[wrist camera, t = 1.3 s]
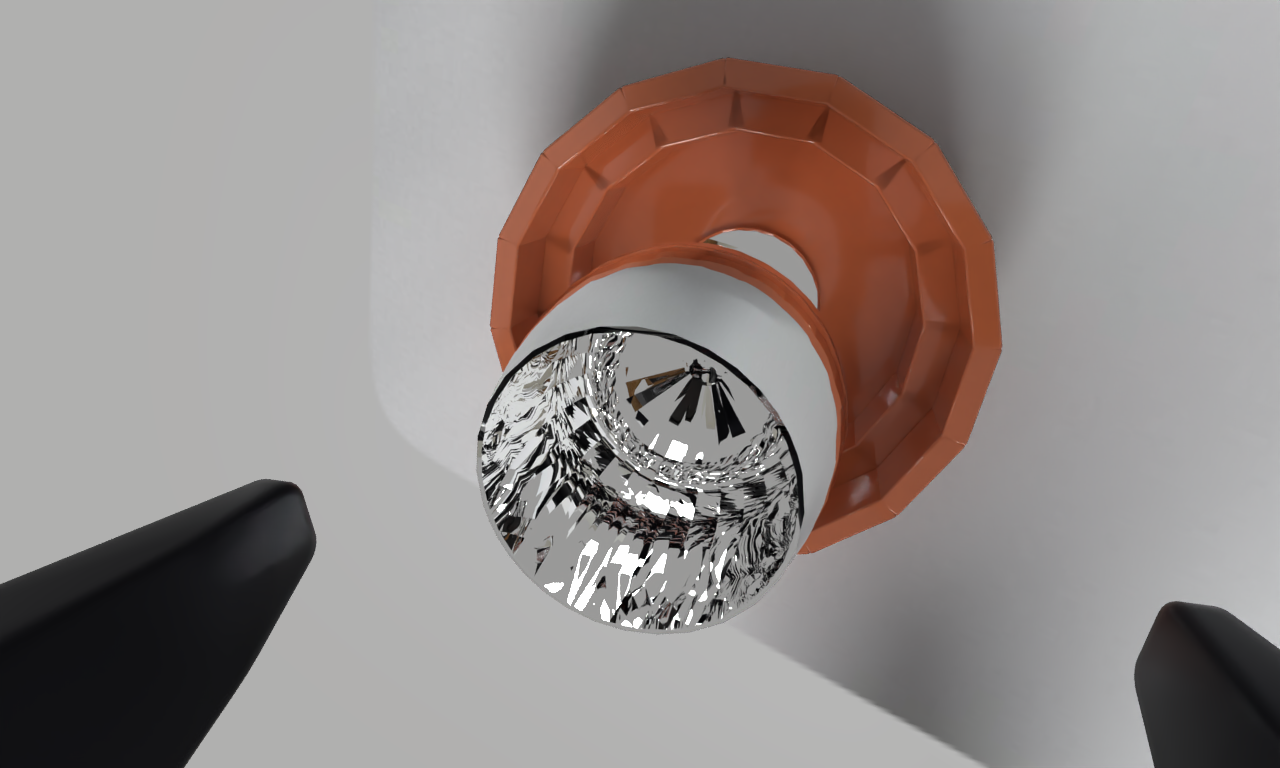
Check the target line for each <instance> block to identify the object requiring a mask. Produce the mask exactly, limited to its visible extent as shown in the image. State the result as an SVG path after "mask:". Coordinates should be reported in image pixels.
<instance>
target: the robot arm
mask: <svg viewBox="0 0 1280 768" xmlns="http://www.w3.org/2000/svg"><path fill="white" fill-rule="evenodd" d="M315 548H316V534H315V531H314V528H313V524H312V522H311V518H310V515H309V512H308V509H307V506H306V502H305V499H304V496H303V493H302V491H301V490H300V488H299V487H298V486H297V485H296V484H294V483H292V482H286V481H278V480H271V479H261V480H257V481H254V482H252V483H250V484H247V485H245V486H243V487H240V488H237V489H235V490H232V491H230V492H227V493H225V494H222V495H220V496H217V497H215V498H212V499H210V500H207V501H205V502H203V503H200V504H198V505H195V506H193V507H190V508H188V509H185V510H183V511H180V512H178V513H175V514H173V515H170V516H168V517H165V518H163V519H161V520H158V521H156V522H153V523H151V524H148V525H146V526H143V527H141V528H138V529H136V530H133V531H131V532H128V533H126V534H124V535H121V536H119V537H116V538H114V539H111V540H109V541H106V542H104V543H102V544H99V545H96V546H94V547H92V548H89V549H86V550H84V551H81V552H79V553H77V554H74V555H72V556H69V557H67V558H64V559H62V560H59V561H57V562H54V563H52V564H49V565H47V566H44V567H42V568H40V569H37V570H35V571H32V572H30V573H27V574H25V575H22V576H20V577H17V578H15V579H12V580H10V581H7V582H5V583H3V584H0V768H184V767H185V765H186V764H187V763H188V761H189V759H190V758H191V757H192V755H193V754H194V752H195V751H196V749H197V748H198V746H199V745H200V743H201V742H202V740H203V739H204V737H205V736H206V735H207V733H208V732H209V730H210V729H211V727H212V726H213V724H214V723H215V721H216V720H217V718H218V717H219V716H220V714H221V713H222V711H223V710H224V708H225V707H226V705H227V704H228V702H229V701H230V699H231V698H232V696H233V695H234V694H235V692H236V690H237V689H238V687H239V686H240V684H241V683H242V681H243V680H244V678H245V676H246V675H247V674H248V672H249V670H250V668H251V667H252V665H253V663H254V662H255V660H256V658H257V656H258V655H259V653H260V651H261V649H262V648H263V646H264V644H265V642H266V640H267V639H268V637H269V635H270V633H271V631H272V630H273V628H274V626H275V624H276V622H277V621H278V619H279V617H280V615H281V614H282V612H283V610H284V608H285V606H286V605H287V603H288V601H289V599H290V597H291V595H292V594H293V592H294V590H295V588H296V587H297V585H298V583H299V581H300V579H301V578H302V576H303V574H304V572H305V570H306V569H307V567H308V565H309V563H310V561H311V559H312V557H313V555H314V552H315ZM1134 680H1135V688H1136V693H1137V697H1138V701H1139V705H1140V709H1141V713H1142V718H1143V722H1144V726H1145V730H1146V734H1147V738H1148V742H1149V747H1150V751H1151V755H1152V759H1153V763H1154V767H1155V768H1280V649H1279V648H1277V647H1276V646H1274V645H1273V644H1272V643H1270V642H1269V641H1268V640H1266V639H1265V638H1264V637H1262V636H1261V635H1259V634H1258V633H1257V632H1255V631H1254V630H1253V629H1251V628H1250V627H1249V626H1247V625H1246V624H1244V623H1243V622H1242V621H1240V620H1239V619H1238V618H1236V617H1235V616H1234V615H1232V614H1231V613H1229V612H1228V611H1226V610H1224V609H1222V608H1218V607H1215V606H1208V605H1201V604H1193V603H1186V602H1179V601H1175V602H1169V603H1167V604H1165V605H1164V606H1163V607H1162V608H1161V610H1160V611H1159V613H1158V615H1157V617H1156V619H1155V621H1154V624H1153V626H1152V628H1151V630H1150V632H1149V634H1148V637H1147V639H1146V641H1145V643H1144V645H1143V648H1142V650H1141V652H1140V654H1139V656H1138V659H1137V662H1136V665H1135V673H1134Z"/></svg>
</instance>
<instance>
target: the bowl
mask: <svg viewBox="0 0 1280 768" xmlns="http://www.w3.org/2000/svg"><path fill="white" fill-rule="evenodd" d="M543 152H544V153H541V155H540V157H539V158H538V160H537V162H536V164H535V166H534V168H533V170H532V172H531V174H530V176H529V178H528V180H527V182H526V184H525V186H524V188H523V190H522V191H521V193H520V195H519V197H518V199H517V201H516V203H515V205H514V207H513V209H512V211H511V213H510V215H509V217H508V219H507V221H506V223H505V224H504V226H503V228H502V230H501V232H500V234H499V238H498V243H497V254H496V265H495V276H494V287H493V299H492V310H491V321H490V327H491V332H492V336H493V340H494V343H495V347H496V350H497V354H498V357H499V361H500V364H501V368H502V372H504V370H505V368H506V366H507V365H508V363H509V361H510V360H511V358H512V356H513V355H514V353H515V351H516V350H517V349H518V347H519V346H520V344H521V343H522V341H523V340H524V338H525V337H526V335H527V334H528V332H529V331H530V329H531V328H532V327H533V325H534V324H535V323H536V322H537V320H538V319H539V318H540V316H541V315H542V314H543V313H544V312H545V311H546V310H547V309H548V308H549V307H550V306H551V305H552V304H553V303H554V302H555V301H556V300H557V299H558V298H559V297H560V296H561V295H562V294H563V293H564V292H565V291H566V290H567V289H568V288H569V287H570V286H571V285H572V284H573V283H574V282H576V281H577V280H579V279H580V278H581V277H583V276H584V275H586V274H587V273H588V272H590V271H591V270H593V269H595V268H597V267H598V266H600V265H602V264H604V263H606V262H608V261H610V260H611V259H613V258H615V257H617V256H619V255H621V254H624V253H626V252H629V251H632V250H635V249H639V248H642V247H646V246H651V245H657V244H663V243H670V242H698V241H700V240H701V239H703V238H704V237H706V236H708V235H710V234H713V233H715V232H718V231H720V230H723V229H729V228H735V227H751V228H759V229H762V230H766V231H769V232H772V233H775V234H777V235H778V236H780V237H782V238H784V239H785V240H787V241H789V242H790V243H792V244H793V245H794V246H795V247H796V248H797V249H798V250H799V251H800V252H801V253H802V254H803V255H804V256H805V258H806V260H807V261H808V263H809V264H810V266H811V268H812V269H813V271H814V273H815V277H816V280H817V283H818V286H819V290H820V297H821V309H820V314H821V316H822V317H823V318H824V320H825V322H826V324H827V326H828V328H829V330H830V332H831V334H832V336H833V338H834V340H835V342H836V344H837V347H838V349H839V352H840V355H841V359H842V363H843V367H844V371H845V375H846V381H847V393H848V430H847V435H846V439H845V444H844V449H843V453H842V458H841V463H840V467H839V471H838V475H837V478H836V481H835V484H834V486H833V488H832V491H831V493H830V495H829V498H828V500H827V502H826V504H825V506H824V508H823V510H822V512H821V513H820V515H819V517H818V519H817V521H816V523H815V525H814V527H813V529H812V531H811V533H810V534H809V536H808V538H807V540H806V542H805V543H804V545H803V546H802V547H801V549H800V550H799V552H798V553H797V554H809V553H814V552H816V551H819V550H821V549H823V548H825V547H828V546H830V545H832V544H835V543H837V542H839V541H842V540H844V539H846V538H848V537H851V536H853V535H855V534H858V533H860V532H862V531H865V530H867V529H869V528H871V527H874V526H876V525H878V524H881V523H883V522H885V521H888V520H890V519H892V518H894V517H896V515H899V514H900V513H901V512H902V511H903V510H904V509H905V508H906V507H907V506H908V505H909V503H910V502H911V501H912V500H913V499H914V498H915V497H916V496H917V495H918V494H919V493H920V492H921V491H922V490H923V489H924V488H925V487H926V486H927V485H928V484H929V483H930V482H931V481H932V480H933V479H934V478H935V477H936V476H937V475H938V474H939V473H940V472H941V471H942V470H943V469H944V468H945V467H946V466H947V465H948V464H949V463H950V462H951V461H952V459H953V458H954V457H955V456H956V455H957V454H958V453H959V452H960V451H961V450H962V449H963V448H964V447H965V445H966V444H967V442H968V440H969V437H970V434H971V432H972V429H973V426H974V424H975V421H976V418H977V416H978V413H979V410H980V408H981V405H982V402H983V400H984V397H985V394H986V392H987V389H988V386H989V383H990V381H991V378H992V375H993V373H994V370H995V367H996V365H997V362H998V359H999V357H1000V354H1001V351H1002V349H1001V348H1002V335H1001V323H1000V311H999V298H998V286H997V274H996V262H995V250H994V241H993V240H992V236H991V234H990V233H989V231H988V229H987V227H986V226H985V224H984V222H983V221H982V219H981V217H980V215H979V214H978V212H977V210H976V209H975V207H974V205H973V204H972V202H971V200H970V198H969V197H968V195H967V193H966V192H965V190H964V188H963V186H962V185H961V183H960V181H959V180H958V178H957V176H956V174H955V173H954V171H953V169H952V168H951V166H950V164H949V163H948V161H947V159H946V157H945V156H944V154H943V152H942V151H941V149H940V147H939V145H938V144H937V143H936V142H934V139H933V138H931V137H930V136H928V135H927V134H925V133H924V132H922V131H921V130H919V129H918V128H916V127H915V126H914V125H912V124H911V123H909V122H908V121H906V120H905V119H903V118H902V117H900V116H899V115H897V114H896V113H894V112H893V111H891V110H890V109H888V108H887V107H886V106H884V105H883V104H881V103H880V102H878V101H877V100H875V99H874V98H872V97H871V96H869V95H868V94H866V93H865V92H863V91H862V90H860V89H859V88H857V87H856V86H855V85H853V84H852V83H850V82H849V81H847V80H846V79H844V78H843V77H838V75H836V74H829V73H823V72H817V71H811V70H804V69H798V68H792V67H785V66H779V65H773V64H767V63H760V62H754V61H748V60H742V59H735V58H729V57H728V58H726V59H725V58H721V59H717V60H714V61H710V62H707V63H703V64H699V65H696V66H692V67H689V68H685V69H681V70H678V71H674V72H670V73H667V74H663V75H660V76H656V77H652V78H649V79H645V80H642V81H638V82H634V83H631V84H627V85H624V86H623V87H622V88H618V89H617V90H616V91H615V92H613V93H612V94H611V95H610V96H609V97H607V98H606V99H605V100H604V101H603V102H601V103H600V104H599V105H598V106H596V107H595V108H594V109H593V110H592V111H590V112H589V113H588V114H587V115H586V116H584V117H583V118H582V119H581V120H580V121H578V122H577V123H576V124H575V125H573V126H572V127H571V128H570V129H569V130H567V131H566V132H565V133H564V134H563V135H561V136H560V137H559V138H558V139H557V140H555V141H554V142H553V143H552V144H550V145H549V146H548V147H547V148H546V149H544V151H543Z"/></svg>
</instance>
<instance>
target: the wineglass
mask: <svg viewBox="0 0 1280 768" xmlns="http://www.w3.org/2000/svg"><path fill="white" fill-rule="evenodd" d="M820 309H821V297H820V290H819V286H818V283H817V280H816V277H815V273H814V271H813V269H812V268H811V266H810V264H809V263H808V261H807V260H806V258H805V256H804V255H803V254H802V253H801V252H800V251H799V250H798V249H797V248H796V247H795V246H794V245H793V244H792V243H790V242H789V241H787V240H785V239H784V238H782V237H780V236H778V235H777V234H775V233H772V232H769V231H766V230H762V229H759V228H751V227H735V228H729V229H723V230H720V231H718V232H715V233H713V234H710V235H708V236H706V237H704V238H703V239H701V240H700V241H698V242H670V243H663V244H657V245H651V246H646V247H642V248H639V249H635V250H632V251H629V252H626V253H624V254H621V255H619V256H617V257H615V258H613V259H611V260H610V261H608V262H606V263H604V264H602V265H600V266H598V267H597V268H595V269H593V270H591V271H590V272H588V273H587V274H586V275H584V276H583V277H581V278H580V279H579V280H577V281H576V282H574V283H573V284H572V285H571V286H570V287H569V288H568V289H567V290H566V291H565V292H564V293H563V294H562V295H561V296H560V297H559V298H558V299H557V300H556V301H555V302H554V303H553V304H552V305H551V306H550V307H549V308H548V309H547V310H546V311H545V312H544V313H543V314H542V315H541V316H540V318H539V319H538V320H537V322H536V323H535V324H534V325H533V327H532V328H531V329H530V331H529V332H528V334H527V335H526V337H525V338H524V340H523V341H522V343H521V344H520V346H519V347H518V349H517V350H516V351H515V353H514V355H513V356H512V358H511V360H510V361H509V363H508V365H507V366H506V368H505V370H504V372H503V374H502V376H501V377H500V379H499V381H498V384H497V386H496V388H495V390H494V392H493V394H492V396H491V398H490V400H489V402H488V405H487V408H486V411H485V414H484V418H483V421H482V424H481V428H480V431H479V434H478V447H477V470H476V471H477V476H478V481H479V486H480V491H481V496H482V501H483V506H484V508H485V511H486V514H487V516H488V519H489V522H490V524H491V525H492V527H493V530H494V531H495V533H496V536H497V537H498V539H499V541H500V542H501V544H502V545H503V547H504V548H505V550H506V551H507V553H508V554H509V556H510V557H511V558H512V559H513V561H514V562H515V563H516V564H517V566H518V567H519V568H520V569H521V570H522V572H523V573H524V574H525V575H526V576H527V577H528V578H529V579H531V580H532V581H533V582H534V583H535V584H536V585H537V586H538V587H539V588H540V589H541V590H542V591H544V592H545V593H546V594H548V595H549V596H551V597H552V598H554V599H555V600H557V601H558V602H560V603H561V604H562V605H564V606H565V607H567V608H569V609H571V610H573V611H575V612H577V613H579V614H581V615H583V616H585V617H587V618H589V619H591V620H593V621H595V622H599V623H602V624H605V625H609V626H612V627H615V628H618V629H622V630H625V631H633V632H642V633H650V634H672V633H688V632H693V631H696V630H700V629H703V628H707V627H710V626H714V625H717V624H721V623H724V622H726V621H727V620H729V619H731V618H732V617H734V616H736V615H738V614H739V613H741V612H743V611H745V610H746V609H748V608H750V607H751V606H753V605H755V604H756V603H757V602H758V601H759V600H760V599H761V598H762V597H763V596H764V595H765V594H766V593H767V592H768V591H769V590H770V589H771V588H772V587H773V586H774V585H775V584H776V583H777V582H778V581H779V579H780V578H781V577H782V575H783V574H784V572H785V571H786V569H787V568H788V566H789V565H790V563H791V562H792V561H793V559H794V558H795V556H796V555H797V553H798V552H799V550H800V549H801V547H802V546H803V545H804V543H805V542H806V540H807V538H808V536H809V534H810V533H811V531H812V529H813V527H814V525H815V523H816V521H817V519H818V517H819V515H820V513H821V512H822V510H823V508H824V506H825V504H826V502H827V500H828V498H829V495H830V493H831V491H832V488H833V486H834V484H835V481H836V478H837V475H838V471H839V467H840V463H841V458H842V453H843V449H844V444H845V439H846V435H847V430H848V393H847V381H846V375H845V371H844V367H843V363H842V359H841V355H840V352H839V349H838V347H837V344H836V342H835V340H834V338H833V336H832V334H831V332H830V330H829V328H828V326H827V324H826V322H825V320H824V318H823V317H822V316H821V314H820Z"/></svg>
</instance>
